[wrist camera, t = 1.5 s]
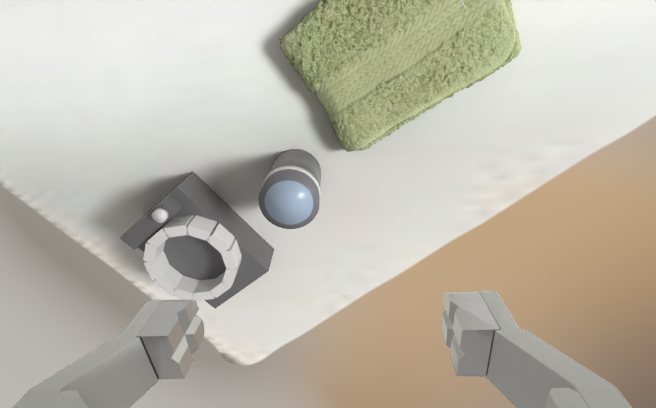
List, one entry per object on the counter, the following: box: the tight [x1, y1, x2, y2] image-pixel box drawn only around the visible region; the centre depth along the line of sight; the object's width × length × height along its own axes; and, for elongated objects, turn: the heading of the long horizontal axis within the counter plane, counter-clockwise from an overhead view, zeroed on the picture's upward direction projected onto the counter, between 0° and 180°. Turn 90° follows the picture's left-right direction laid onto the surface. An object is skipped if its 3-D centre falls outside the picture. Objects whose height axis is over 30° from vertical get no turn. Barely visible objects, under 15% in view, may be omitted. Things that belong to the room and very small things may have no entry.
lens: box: [259, 149, 321, 229], centre depth 31 cm, size 5×5×7 cm
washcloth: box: [280, 0, 521, 151], centre depth 28 cm, size 13×18×3 cm
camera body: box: [120, 172, 274, 308], centre depth 34 cm, size 12×8×6 cm
